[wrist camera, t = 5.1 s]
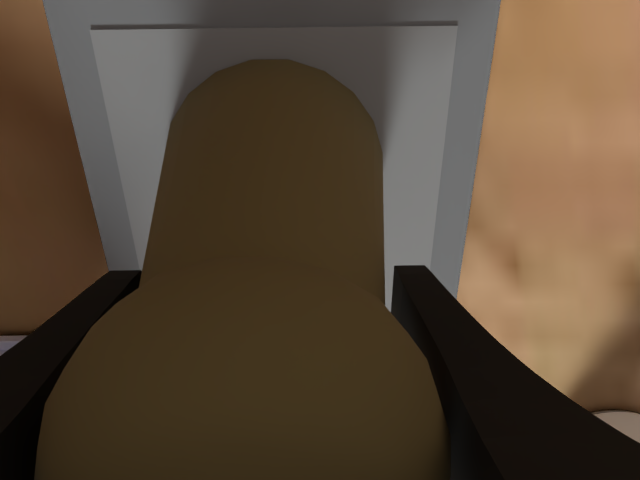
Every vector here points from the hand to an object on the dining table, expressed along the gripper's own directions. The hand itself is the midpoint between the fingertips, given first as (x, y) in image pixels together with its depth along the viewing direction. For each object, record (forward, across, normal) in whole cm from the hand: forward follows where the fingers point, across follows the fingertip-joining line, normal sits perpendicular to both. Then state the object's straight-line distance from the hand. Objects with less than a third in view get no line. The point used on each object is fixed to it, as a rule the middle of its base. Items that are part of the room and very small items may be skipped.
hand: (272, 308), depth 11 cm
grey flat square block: (+8, 0, 0) cm, 8 cm away
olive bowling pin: (+6, 0, -1) cm, 6 cm away
